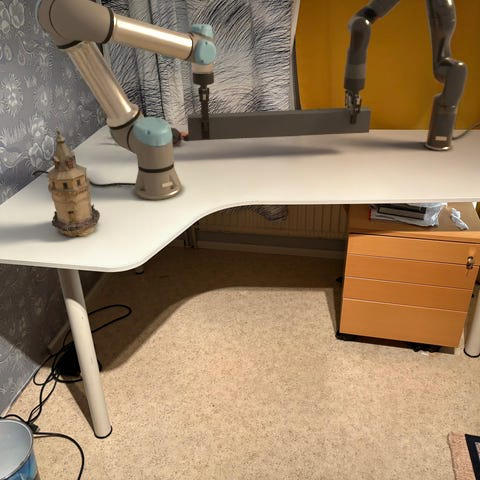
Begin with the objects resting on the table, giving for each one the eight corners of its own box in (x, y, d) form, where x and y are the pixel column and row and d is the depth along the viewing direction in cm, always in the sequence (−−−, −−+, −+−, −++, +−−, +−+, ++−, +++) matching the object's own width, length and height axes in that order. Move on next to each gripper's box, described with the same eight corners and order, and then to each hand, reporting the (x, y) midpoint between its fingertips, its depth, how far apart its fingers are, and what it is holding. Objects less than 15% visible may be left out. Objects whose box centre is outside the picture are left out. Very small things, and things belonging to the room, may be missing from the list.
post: (188, 141, 196) (187, 118, 192) (188, 136, 200) (187, 114, 196) (368, 132, 201) (371, 110, 197) (365, 128, 205) (367, 106, 201)
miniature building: (80, 214, 164) (63, 117, 149) (111, 225, 157) (96, 125, 142) (44, 231, 154) (22, 130, 140) (75, 244, 147) (55, 139, 133)
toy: (131, 119, 231) (198, 119, 225) (133, 133, 234) (199, 134, 228) (106, 139, 209) (180, 139, 203) (109, 154, 212) (182, 155, 206)
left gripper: (214, 77, 179) (216, 143, 191) (212, 66, 195) (214, 128, 206) (192, 77, 179) (195, 144, 190) (192, 66, 195) (195, 129, 206)
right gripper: (371, 79, 187) (366, 127, 195) (359, 70, 199) (355, 115, 207) (350, 80, 186) (346, 128, 194) (339, 71, 198) (336, 116, 207)
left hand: (205, 136), depth 198 cm, fingers closed on post, 5 cm apart
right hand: (351, 121), depth 201 cm, fingers closed on post, 5 cm apart
